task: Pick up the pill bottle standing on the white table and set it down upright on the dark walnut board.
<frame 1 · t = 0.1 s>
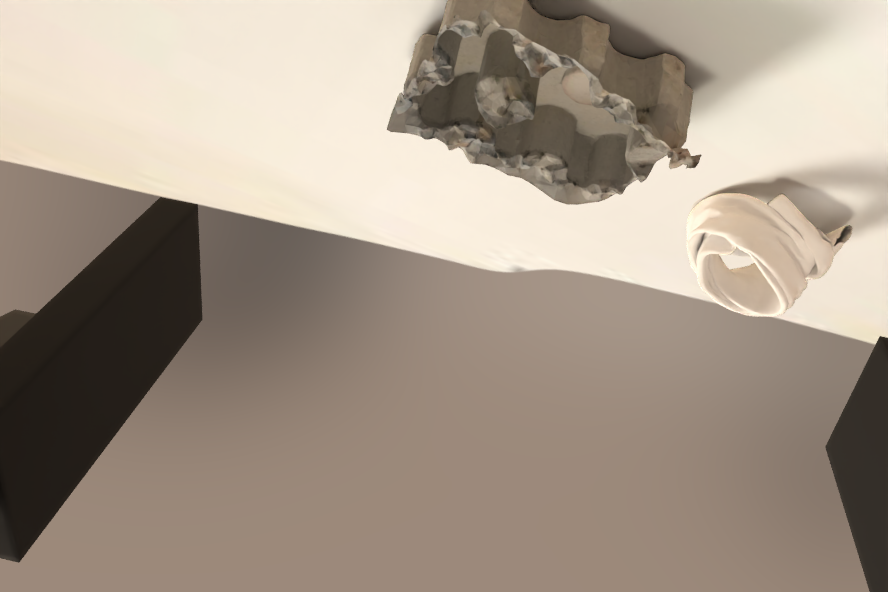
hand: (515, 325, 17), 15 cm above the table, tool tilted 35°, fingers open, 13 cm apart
cream folded ring: (756, 218, 41), on the table
egg carton: (552, 62, 33), on the table
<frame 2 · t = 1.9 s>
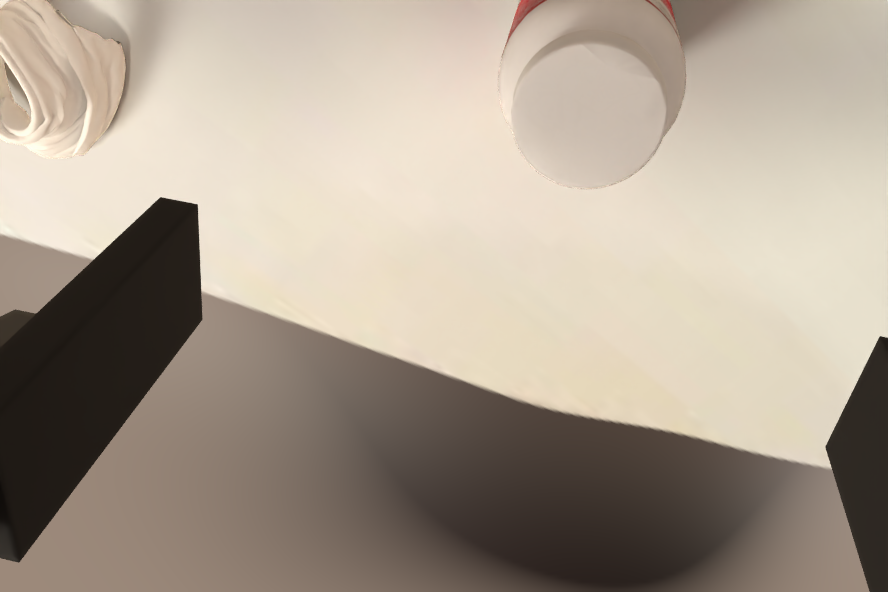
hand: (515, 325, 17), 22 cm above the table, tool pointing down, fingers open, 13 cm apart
cream folded ring: (59, 70, 40), on the table
pill bottle: (593, 19, 35), on the table
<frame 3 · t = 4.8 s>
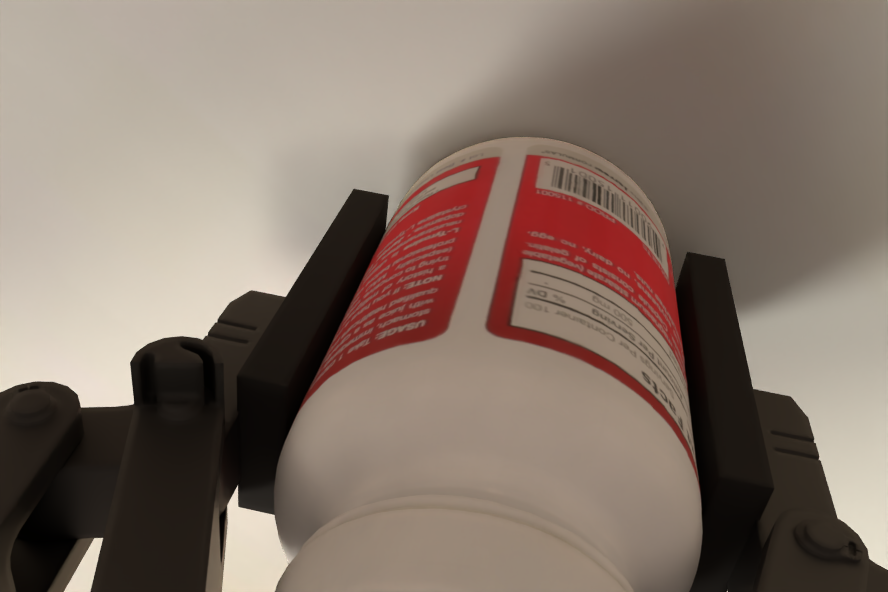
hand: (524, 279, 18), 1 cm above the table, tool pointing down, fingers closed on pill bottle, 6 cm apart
pill bottle: (529, 254, 19), on the table, touching gripper
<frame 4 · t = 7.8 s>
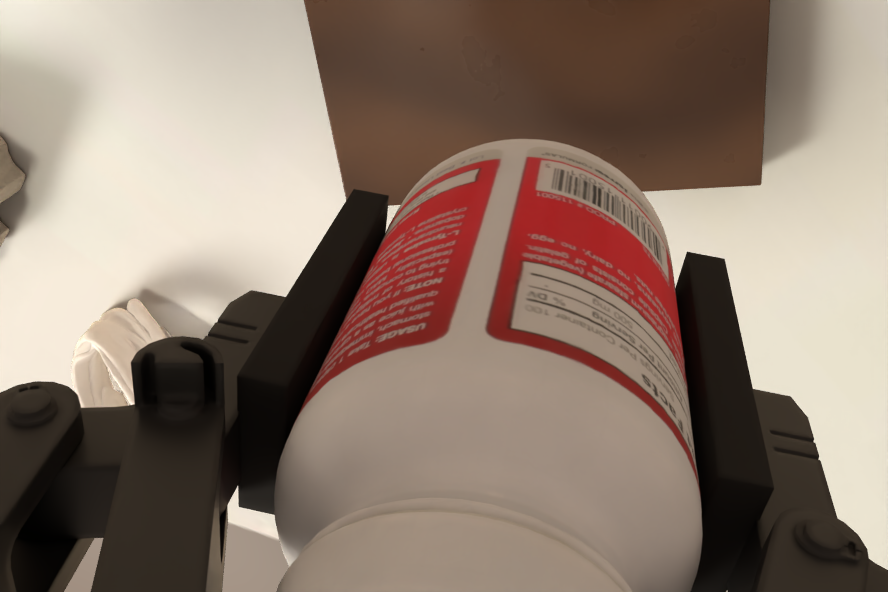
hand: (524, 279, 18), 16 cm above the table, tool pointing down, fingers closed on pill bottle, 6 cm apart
cream folded ring: (155, 357, 43), on the table
pill bottle: (529, 256, 19), point 15 cm above the table, touching gripper
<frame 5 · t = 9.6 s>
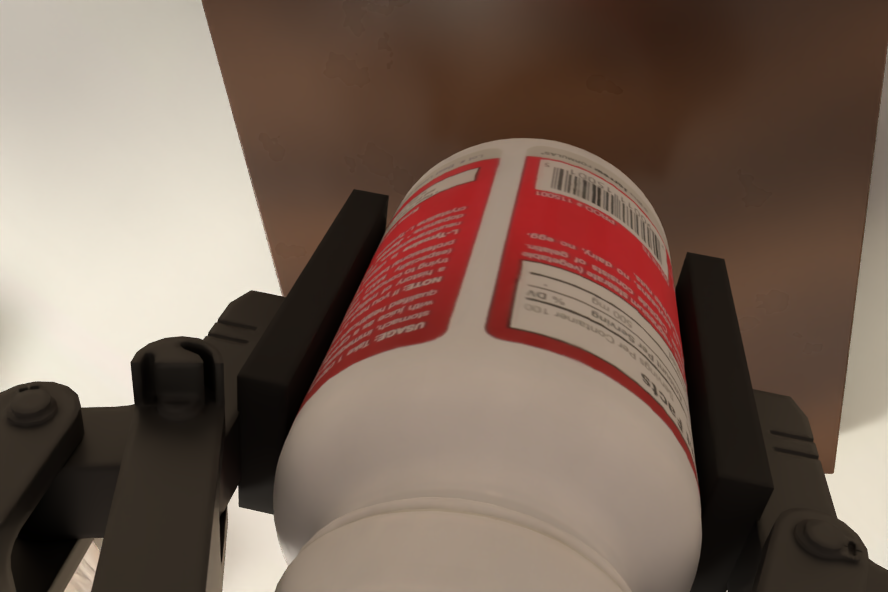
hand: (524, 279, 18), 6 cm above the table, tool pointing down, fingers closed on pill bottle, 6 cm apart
cream folded ring: (109, 579, 37), on the table
pill bottle: (528, 256, 19), point 5 cm above the table, touching gripper
walnut board: (544, 160, 23), on the table
when the fingers open (2 cm above the table, at t = 11.1 s): pill bottle stays where it is, resting on walnut board.
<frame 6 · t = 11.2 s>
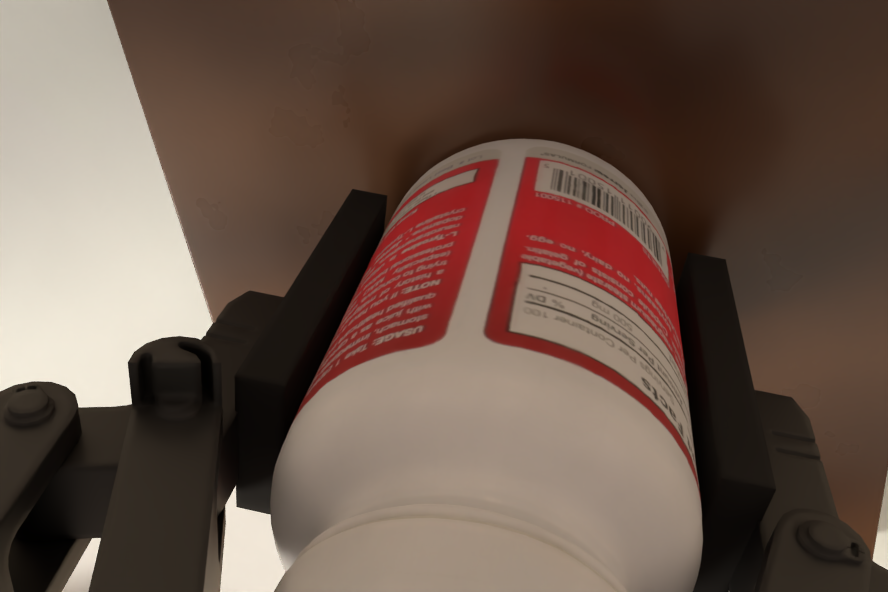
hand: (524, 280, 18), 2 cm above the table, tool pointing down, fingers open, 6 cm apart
pill bottle: (528, 257, 19), point 1 cm above the table, touching walnut board
walnut board: (532, 228, 20), on the table
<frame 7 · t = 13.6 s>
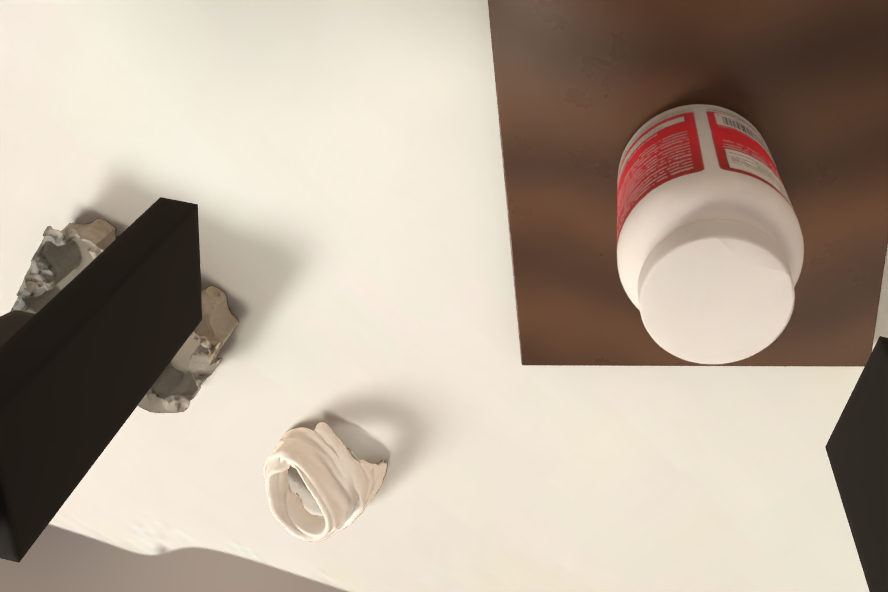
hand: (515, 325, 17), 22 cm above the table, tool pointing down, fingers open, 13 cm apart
cream folded ring: (327, 464, 51), on the table
pill bottle: (692, 169, 36), point 1 cm above the table, touching walnut board
walnut board: (690, 157, 37), on the table
egg carton: (145, 299, 47), on the table
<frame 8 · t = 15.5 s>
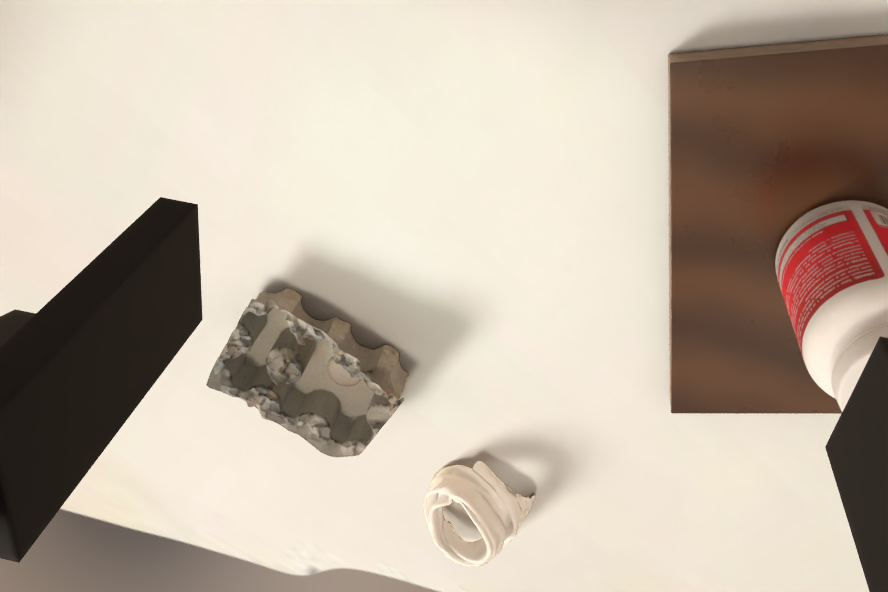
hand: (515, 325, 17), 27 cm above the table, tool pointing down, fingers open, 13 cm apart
cream folded ring: (476, 495, 56), on the table
pill bottle: (839, 251, 42), point 1 cm above the table, touching walnut board
walnut board: (834, 238, 43), on the table
egg carton: (321, 355, 52), on the table
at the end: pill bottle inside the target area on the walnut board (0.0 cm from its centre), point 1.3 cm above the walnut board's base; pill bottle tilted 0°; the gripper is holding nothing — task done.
